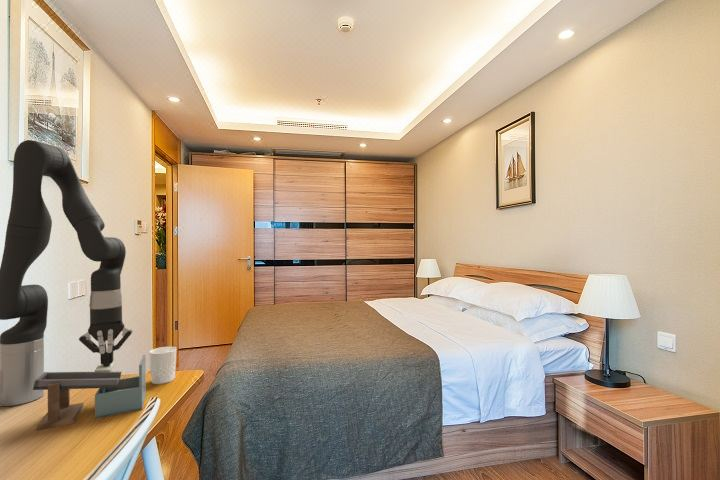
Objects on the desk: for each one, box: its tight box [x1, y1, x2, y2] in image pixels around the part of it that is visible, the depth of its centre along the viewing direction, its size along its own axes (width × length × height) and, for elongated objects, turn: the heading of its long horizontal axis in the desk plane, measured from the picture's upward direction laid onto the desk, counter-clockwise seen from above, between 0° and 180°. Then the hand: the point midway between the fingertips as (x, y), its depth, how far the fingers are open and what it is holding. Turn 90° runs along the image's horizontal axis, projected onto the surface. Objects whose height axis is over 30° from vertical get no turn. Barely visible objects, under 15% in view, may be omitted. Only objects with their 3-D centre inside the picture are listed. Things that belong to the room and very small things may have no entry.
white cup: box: [148, 345, 178, 385], centre depth 113 cm, size 8×8×10 cm
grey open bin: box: [94, 354, 147, 419], centre depth 95 cm, size 10×10×12 cm
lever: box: [33, 362, 122, 391], centre depth 94 cm, size 17×14×3 cm
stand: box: [36, 383, 85, 431], centre depth 89 cm, size 7×10×10 cm
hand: (107, 365), depth 100 cm, fingers closed
